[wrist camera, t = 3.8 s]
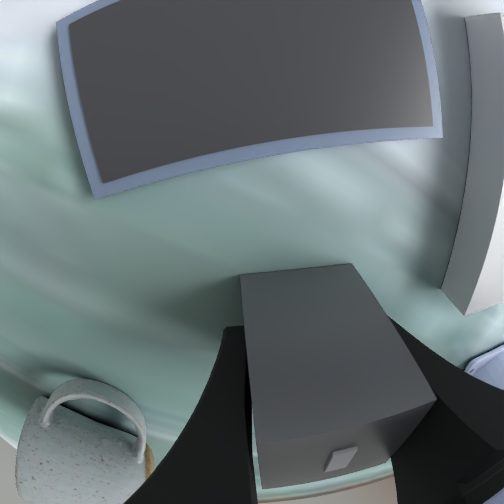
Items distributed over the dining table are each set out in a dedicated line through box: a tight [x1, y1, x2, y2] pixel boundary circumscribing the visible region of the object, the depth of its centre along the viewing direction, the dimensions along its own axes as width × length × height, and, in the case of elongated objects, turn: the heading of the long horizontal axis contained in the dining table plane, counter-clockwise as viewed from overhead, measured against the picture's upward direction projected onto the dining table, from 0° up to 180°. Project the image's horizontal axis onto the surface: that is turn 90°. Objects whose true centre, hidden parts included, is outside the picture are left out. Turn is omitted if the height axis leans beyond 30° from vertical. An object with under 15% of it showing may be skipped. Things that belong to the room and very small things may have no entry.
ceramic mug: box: [15, 379, 155, 504], centre depth 11 cm, size 11×8×8 cm
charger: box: [240, 264, 437, 489], centre depth 8 cm, size 4×4×6 cm
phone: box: [56, 0, 443, 200], centre depth 7 cm, size 6×11×1 cm, turn 100°
